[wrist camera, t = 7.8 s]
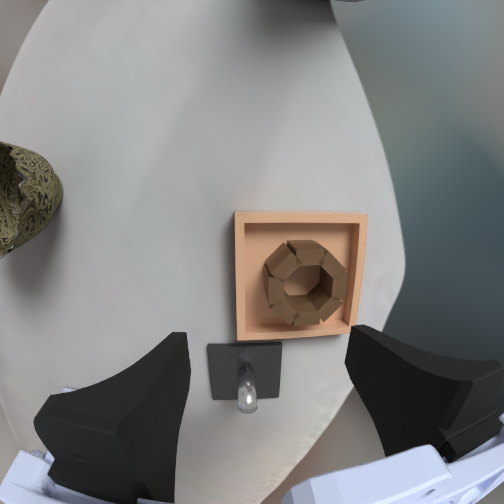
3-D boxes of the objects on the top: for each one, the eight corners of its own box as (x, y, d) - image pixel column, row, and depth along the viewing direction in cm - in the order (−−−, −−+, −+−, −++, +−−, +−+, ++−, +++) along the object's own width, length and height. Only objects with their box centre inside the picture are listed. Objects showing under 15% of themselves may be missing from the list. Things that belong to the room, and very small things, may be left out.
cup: (64, 129, 17) (0, 114, 9) (99, 204, 19) (35, 218, 11) (12, 182, 18) (-50, 189, 10) (42, 251, 19) (-18, 280, 12)
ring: (329, 304, 21) (342, 321, 18) (263, 308, 21) (268, 328, 18) (333, 239, 20) (349, 248, 17) (263, 240, 20) (268, 250, 17)
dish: (346, 322, 22) (354, 332, 21) (236, 328, 22) (237, 340, 20) (357, 212, 20) (367, 214, 18) (234, 211, 20) (234, 213, 18)
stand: (278, 394, 24) (285, 428, 19) (213, 396, 24) (211, 431, 19) (281, 341, 22) (291, 375, 18) (208, 343, 22) (203, 378, 18)
